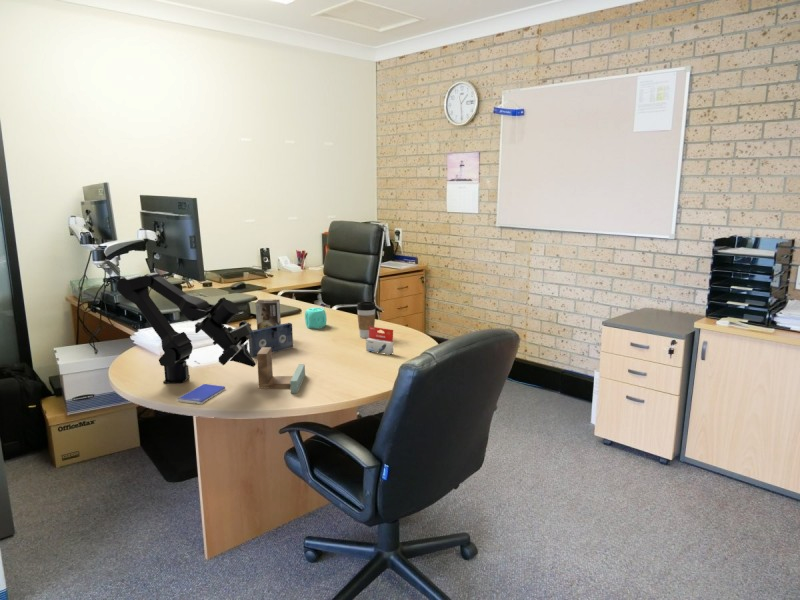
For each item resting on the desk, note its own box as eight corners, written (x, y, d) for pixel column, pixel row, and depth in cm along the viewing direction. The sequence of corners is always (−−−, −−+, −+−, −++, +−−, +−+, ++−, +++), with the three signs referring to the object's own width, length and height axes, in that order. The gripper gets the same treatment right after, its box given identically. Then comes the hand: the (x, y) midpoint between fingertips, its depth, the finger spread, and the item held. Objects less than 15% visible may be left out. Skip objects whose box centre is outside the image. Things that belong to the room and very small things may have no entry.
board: (290, 393, 168) (290, 381, 167) (299, 375, 184) (298, 364, 183) (297, 393, 168) (296, 381, 167) (305, 375, 184) (304, 364, 183)
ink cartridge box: (390, 356, 205) (390, 331, 203) (365, 351, 210) (365, 327, 208) (393, 354, 207) (393, 329, 205) (369, 350, 212) (368, 326, 210)
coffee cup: (353, 337, 229) (352, 303, 226) (361, 332, 236) (361, 299, 233) (371, 340, 226) (371, 305, 223) (379, 334, 233) (379, 301, 230)
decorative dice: (305, 325, 249) (304, 308, 247) (321, 323, 252) (321, 306, 251) (309, 329, 242) (309, 312, 240) (326, 327, 245) (326, 310, 244)
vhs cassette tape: (290, 346, 217) (289, 322, 215) (294, 347, 215) (293, 323, 213) (248, 356, 205) (247, 330, 202) (252, 357, 203) (251, 332, 200)
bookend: (258, 388, 172) (257, 353, 170) (263, 380, 179) (262, 347, 177) (293, 388, 173) (292, 353, 170) (297, 380, 179) (295, 347, 177)
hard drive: (200, 401, 159) (225, 386, 171) (177, 397, 162) (203, 383, 173) (201, 405, 160) (225, 391, 171) (177, 402, 162) (203, 388, 174)
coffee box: (281, 335, 232) (280, 299, 228) (279, 340, 225) (277, 302, 222) (260, 336, 231) (258, 299, 228) (257, 340, 225) (255, 302, 222)
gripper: (227, 322, 162) (265, 358, 164) (243, 308, 180) (277, 340, 182) (202, 347, 163) (240, 382, 166) (220, 331, 181) (255, 362, 184)
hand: (254, 365), depth 174 cm, fingers closed
